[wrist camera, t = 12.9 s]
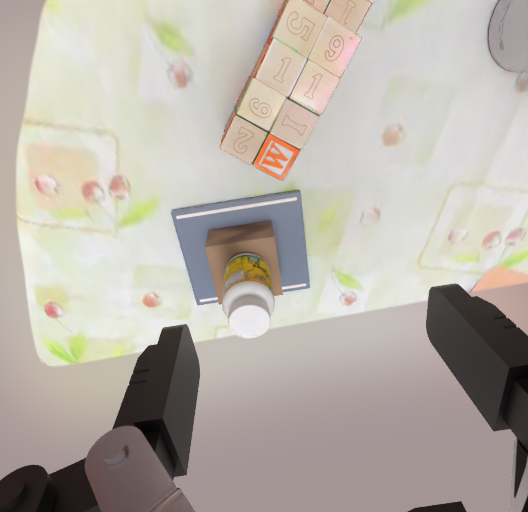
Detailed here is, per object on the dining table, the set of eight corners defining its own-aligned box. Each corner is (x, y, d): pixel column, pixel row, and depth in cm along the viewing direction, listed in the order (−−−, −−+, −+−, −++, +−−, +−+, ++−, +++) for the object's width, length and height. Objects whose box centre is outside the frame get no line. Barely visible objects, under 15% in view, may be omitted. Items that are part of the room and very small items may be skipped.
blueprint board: (299, 189, 44) (300, 192, 43) (308, 284, 50) (309, 288, 49) (172, 210, 44) (170, 213, 43) (198, 301, 50) (197, 305, 49)
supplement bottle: (215, 267, 41) (208, 317, 33) (252, 242, 40) (255, 288, 32) (242, 297, 43) (243, 352, 35) (278, 275, 42) (288, 326, 34)
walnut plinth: (271, 220, 44) (274, 236, 40) (279, 274, 48) (282, 294, 44) (208, 230, 44) (205, 247, 40) (221, 283, 48) (219, 304, 44)
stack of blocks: (325, -91, 32) (368, -175, 21) (379, -48, 34) (446, -106, 23) (224, 128, 40) (217, 149, 29) (272, 154, 42) (283, 183, 31)
